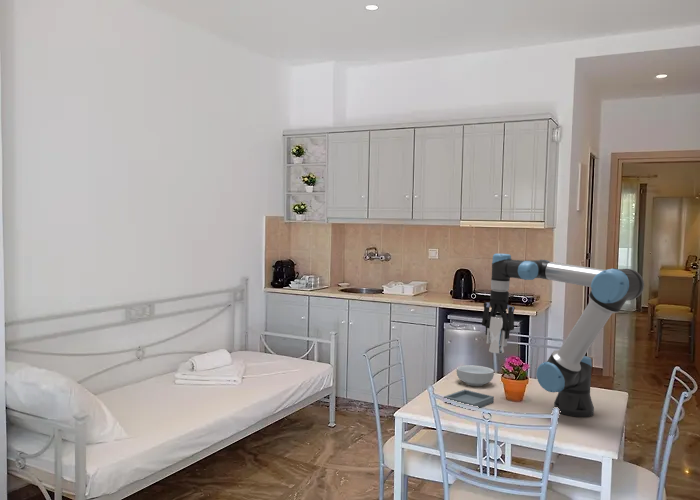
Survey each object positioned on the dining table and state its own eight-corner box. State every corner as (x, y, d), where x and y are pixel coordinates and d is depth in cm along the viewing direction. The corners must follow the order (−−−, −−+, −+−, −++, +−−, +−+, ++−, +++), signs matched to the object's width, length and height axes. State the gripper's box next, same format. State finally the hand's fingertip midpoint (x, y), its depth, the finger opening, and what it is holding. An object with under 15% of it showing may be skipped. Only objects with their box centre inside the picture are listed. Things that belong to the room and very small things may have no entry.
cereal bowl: (498, 383, 284) (499, 368, 284) (486, 391, 270) (486, 375, 270) (463, 377, 293) (464, 362, 293) (450, 384, 279) (451, 369, 279)
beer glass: (506, 354, 253) (508, 318, 252) (489, 353, 254) (491, 317, 253) (503, 350, 260) (505, 315, 259) (486, 349, 261) (488, 314, 260)
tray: (493, 402, 253) (493, 396, 253) (473, 410, 241) (473, 404, 241) (464, 395, 262) (464, 389, 262) (443, 402, 251) (443, 396, 251)
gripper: (525, 292, 251) (522, 347, 252) (484, 287, 265) (481, 339, 266) (516, 293, 246) (512, 350, 247) (474, 288, 260) (471, 341, 261)
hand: (496, 344), depth 257 cm, fingers closed on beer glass, 7 cm apart
